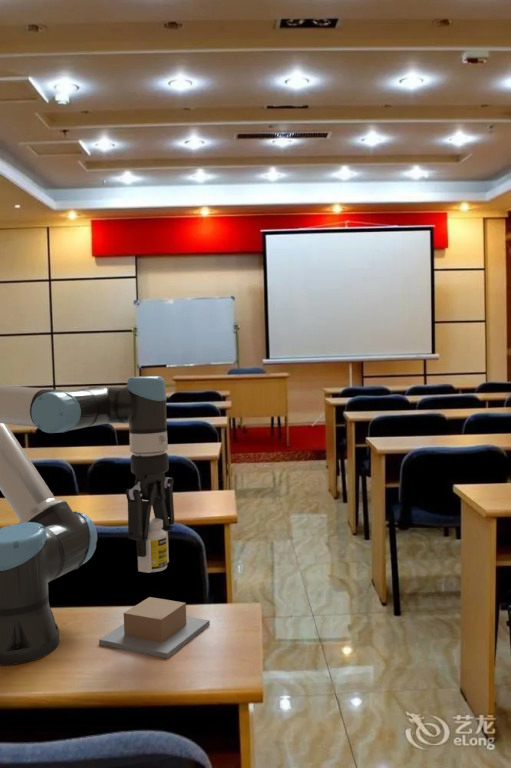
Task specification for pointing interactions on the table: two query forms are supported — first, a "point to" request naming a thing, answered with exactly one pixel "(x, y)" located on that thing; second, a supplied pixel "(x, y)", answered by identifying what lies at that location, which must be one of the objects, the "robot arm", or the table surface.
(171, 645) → the base
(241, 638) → the table surface
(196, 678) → the table surface
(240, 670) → the table surface
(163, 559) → the supplement bottle
